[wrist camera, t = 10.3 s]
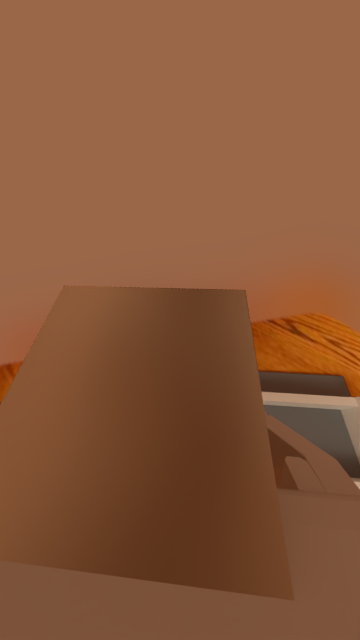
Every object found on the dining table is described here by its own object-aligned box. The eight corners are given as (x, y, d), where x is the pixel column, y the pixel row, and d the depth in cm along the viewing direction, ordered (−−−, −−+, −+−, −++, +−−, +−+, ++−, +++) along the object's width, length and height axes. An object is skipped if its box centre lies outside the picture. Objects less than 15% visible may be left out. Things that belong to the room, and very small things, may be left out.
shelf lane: (129, 508, 20) (112, 529, 16) (151, 366, 29) (144, 353, 24) (402, 538, 19) (474, 571, 14) (340, 377, 27) (372, 364, 22)
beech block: (134, 461, 13) (-81, 555, 3) (146, 385, 15) (63, 285, 5) (208, 467, 12) (295, 607, 2) (207, 389, 15) (245, 290, 5)
